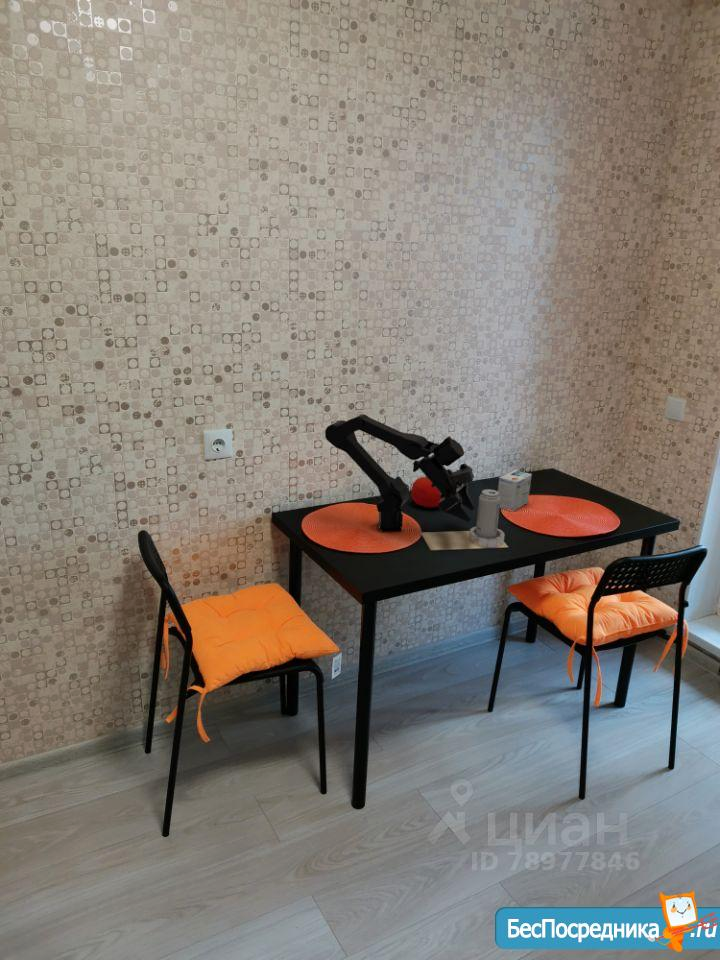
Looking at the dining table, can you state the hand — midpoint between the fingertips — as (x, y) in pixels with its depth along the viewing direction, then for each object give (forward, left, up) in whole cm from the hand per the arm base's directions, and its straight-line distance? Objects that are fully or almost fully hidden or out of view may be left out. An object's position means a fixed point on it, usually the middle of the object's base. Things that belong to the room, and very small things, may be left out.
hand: (471, 515), depth 213 cm
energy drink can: (+4, -2, -7) cm, 9 cm away
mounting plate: (-2, -1, -8) cm, 9 cm away
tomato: (-4, +29, -9) cm, 30 cm away
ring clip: (+5, -2, -7) cm, 9 cm away
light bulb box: (+24, +27, -9) cm, 37 cm away
